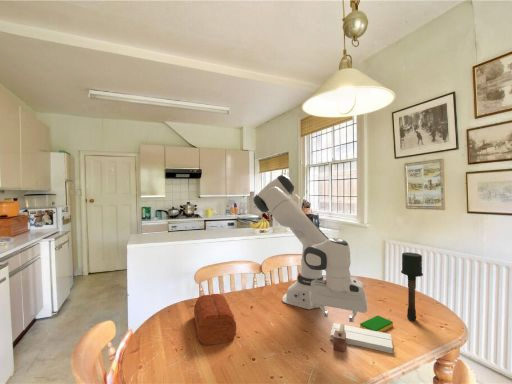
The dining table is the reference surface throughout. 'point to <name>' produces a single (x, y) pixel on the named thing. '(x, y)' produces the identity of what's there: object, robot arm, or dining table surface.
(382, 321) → the dish sponge
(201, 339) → the bread
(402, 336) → the dining table surface
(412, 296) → the potato masher grenade
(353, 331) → the board
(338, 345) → the block
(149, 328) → the dining table surface
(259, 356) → the dining table surface
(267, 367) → the dining table surface
